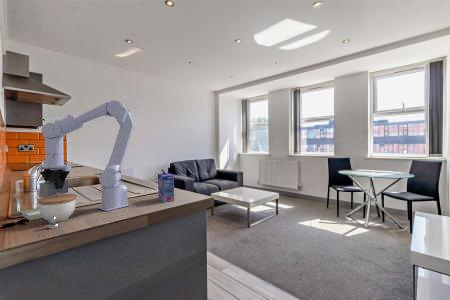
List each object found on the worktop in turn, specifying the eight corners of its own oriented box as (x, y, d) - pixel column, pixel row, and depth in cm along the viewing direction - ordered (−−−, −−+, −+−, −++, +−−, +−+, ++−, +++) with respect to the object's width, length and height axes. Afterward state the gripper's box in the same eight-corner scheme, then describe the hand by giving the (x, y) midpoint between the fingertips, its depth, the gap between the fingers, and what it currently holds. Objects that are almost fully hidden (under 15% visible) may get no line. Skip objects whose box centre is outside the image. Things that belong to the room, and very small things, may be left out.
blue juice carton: (157, 197, 108) (157, 168, 107) (168, 196, 111) (168, 168, 110) (162, 202, 99) (162, 170, 99) (174, 200, 102) (174, 170, 102)
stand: (44, 210, 87) (44, 206, 87) (53, 214, 82) (53, 210, 82) (21, 215, 82) (21, 211, 82) (30, 220, 76) (29, 215, 76)
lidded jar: (35, 219, 77) (35, 193, 77) (71, 212, 85) (71, 188, 85) (42, 227, 70) (41, 198, 70) (80, 218, 78) (80, 192, 78)
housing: (39, 196, 83) (39, 181, 83) (60, 191, 91) (60, 177, 91) (47, 197, 82) (47, 181, 82) (68, 192, 90) (67, 178, 90)
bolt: (56, 225, 72) (56, 214, 72) (60, 227, 70) (60, 216, 70) (45, 227, 70) (45, 217, 69) (49, 230, 68) (48, 219, 68)
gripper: (29, 154, 85) (30, 189, 85) (58, 154, 81) (59, 191, 81) (49, 153, 91) (49, 185, 92) (76, 154, 87) (76, 187, 88)
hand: (55, 188), depth 87 cm, fingers closed on housing, 4 cm apart
